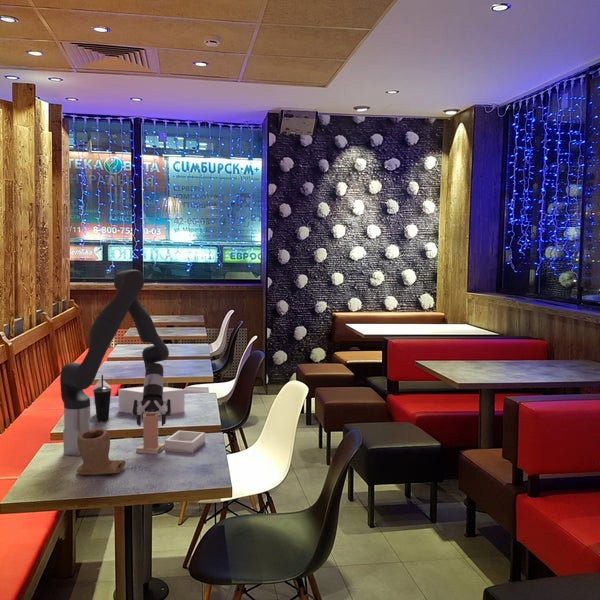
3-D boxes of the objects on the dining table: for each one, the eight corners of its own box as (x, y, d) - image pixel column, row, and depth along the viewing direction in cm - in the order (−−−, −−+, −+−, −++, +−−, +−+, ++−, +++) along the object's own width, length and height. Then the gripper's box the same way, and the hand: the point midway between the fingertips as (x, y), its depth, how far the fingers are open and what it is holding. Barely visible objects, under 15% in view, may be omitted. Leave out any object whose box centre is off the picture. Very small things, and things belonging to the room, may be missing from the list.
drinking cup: (115, 419, 285) (115, 374, 283) (102, 423, 278) (101, 377, 277) (103, 417, 289) (102, 372, 287) (89, 421, 282) (89, 375, 280)
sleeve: (157, 447, 243) (157, 416, 242) (143, 448, 243) (143, 416, 242) (158, 443, 248) (158, 412, 247) (144, 444, 248) (144, 413, 247)
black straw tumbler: (112, 415, 292) (112, 380, 291) (92, 416, 289) (92, 381, 288) (110, 410, 300) (110, 376, 299) (91, 412, 297) (91, 377, 295)
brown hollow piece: (71, 480, 214) (71, 435, 213) (81, 467, 226) (81, 425, 225) (118, 479, 215) (118, 435, 214) (126, 467, 227) (125, 425, 226)
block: (122, 407, 306) (122, 385, 305) (186, 408, 307) (186, 385, 306) (114, 416, 291) (114, 392, 290) (182, 416, 292) (181, 393, 291)
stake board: (156, 454, 241) (156, 450, 241) (136, 452, 243) (136, 448, 243) (165, 447, 249) (165, 443, 249) (145, 445, 250) (145, 441, 250)
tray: (192, 453, 243) (192, 442, 242) (165, 450, 245) (165, 440, 245) (205, 442, 255) (205, 432, 255) (178, 440, 258) (178, 430, 257)
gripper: (133, 383, 252) (130, 420, 242) (171, 382, 254) (169, 419, 244) (135, 393, 258) (132, 430, 247) (172, 392, 260) (170, 429, 249)
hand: (151, 425), depth 246 cm, fingers open, 8 cm apart
